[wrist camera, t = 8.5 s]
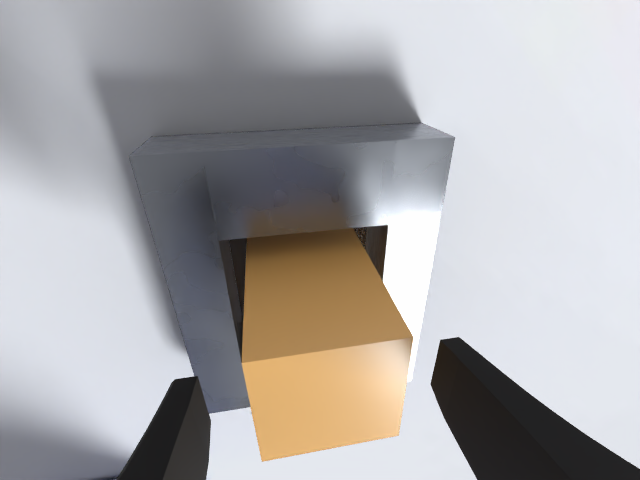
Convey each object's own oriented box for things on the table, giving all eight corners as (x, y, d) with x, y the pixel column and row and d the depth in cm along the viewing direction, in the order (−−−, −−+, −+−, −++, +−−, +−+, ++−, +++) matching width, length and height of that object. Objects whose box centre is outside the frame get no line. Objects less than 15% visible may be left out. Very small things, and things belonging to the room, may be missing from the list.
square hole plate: (211, 369, 18) (205, 413, 16) (151, 136, 12) (128, 156, 10) (393, 343, 19) (411, 380, 17) (422, 122, 13) (455, 137, 11)
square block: (259, 310, 16) (261, 461, 10) (247, 230, 14) (241, 363, 8) (347, 298, 17) (398, 435, 11) (348, 220, 15) (413, 337, 9)
